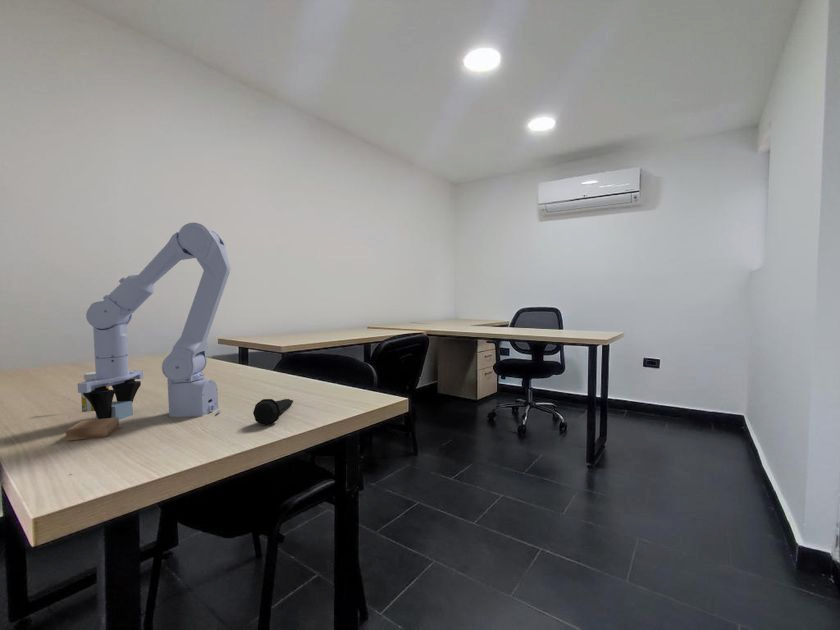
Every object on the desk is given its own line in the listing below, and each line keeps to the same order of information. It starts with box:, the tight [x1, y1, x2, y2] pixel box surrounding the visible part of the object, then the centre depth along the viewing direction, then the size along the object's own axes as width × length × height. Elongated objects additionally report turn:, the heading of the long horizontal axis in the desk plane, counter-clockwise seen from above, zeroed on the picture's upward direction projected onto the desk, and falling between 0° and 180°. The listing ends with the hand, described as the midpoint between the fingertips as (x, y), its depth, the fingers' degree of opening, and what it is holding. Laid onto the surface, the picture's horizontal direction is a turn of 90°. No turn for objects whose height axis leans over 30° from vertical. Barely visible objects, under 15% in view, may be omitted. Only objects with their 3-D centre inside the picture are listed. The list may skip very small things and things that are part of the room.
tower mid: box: [65, 417, 120, 442], centre depth 74 cm, size 6×6×2 cm
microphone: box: [252, 398, 294, 425], centre depth 90 cm, size 6×6×20 cm
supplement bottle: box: [80, 371, 110, 413], centre depth 95 cm, size 5×5×10 cm
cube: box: [95, 400, 134, 421], centre depth 85 cm, size 4×4×4 cm
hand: (115, 417), depth 85 cm, fingers closed on cube, 4 cm apart
